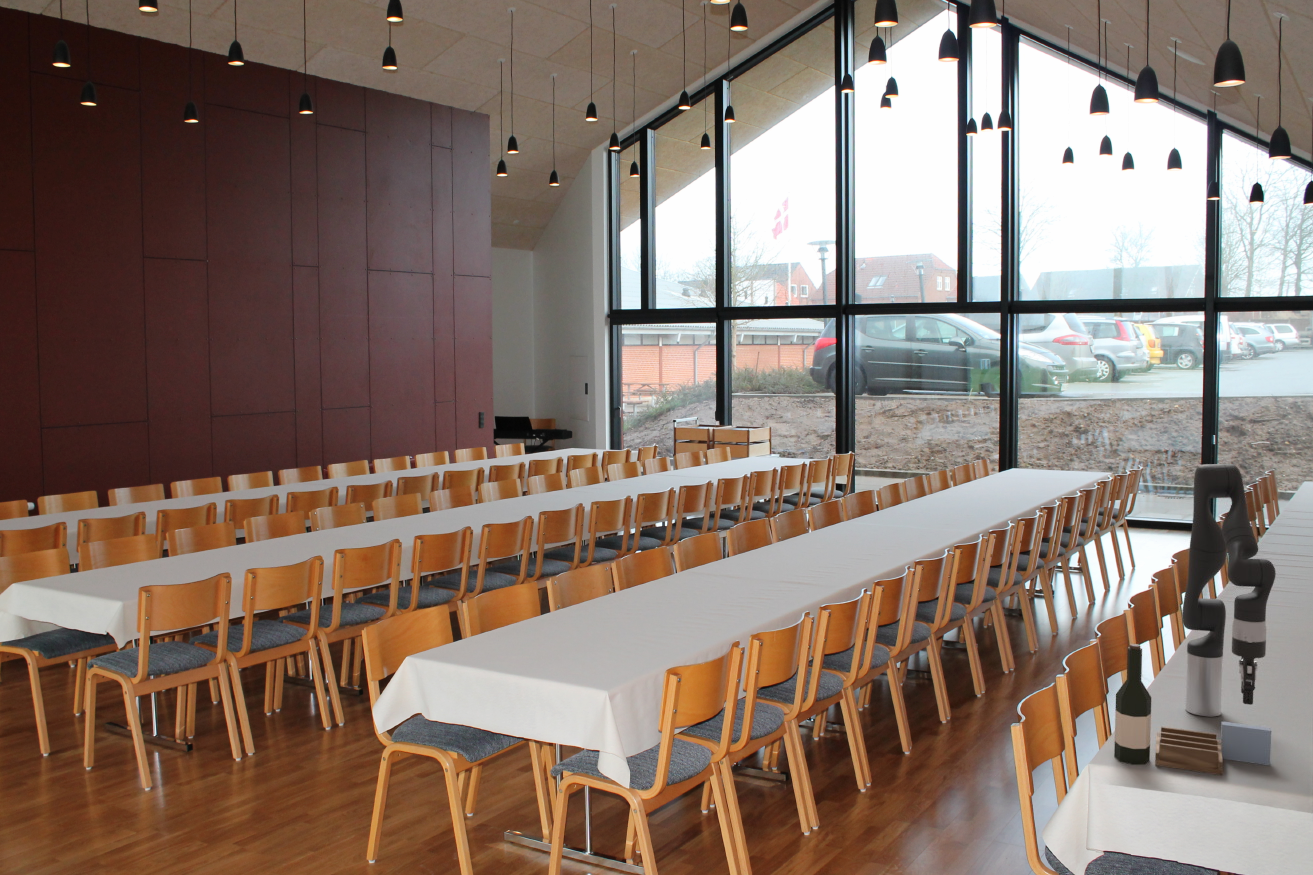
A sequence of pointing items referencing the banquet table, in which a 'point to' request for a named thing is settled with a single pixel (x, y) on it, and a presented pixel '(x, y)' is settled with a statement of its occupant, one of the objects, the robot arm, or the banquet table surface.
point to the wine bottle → (1133, 714)
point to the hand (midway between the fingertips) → (1246, 698)
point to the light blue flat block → (1245, 743)
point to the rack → (1189, 750)
